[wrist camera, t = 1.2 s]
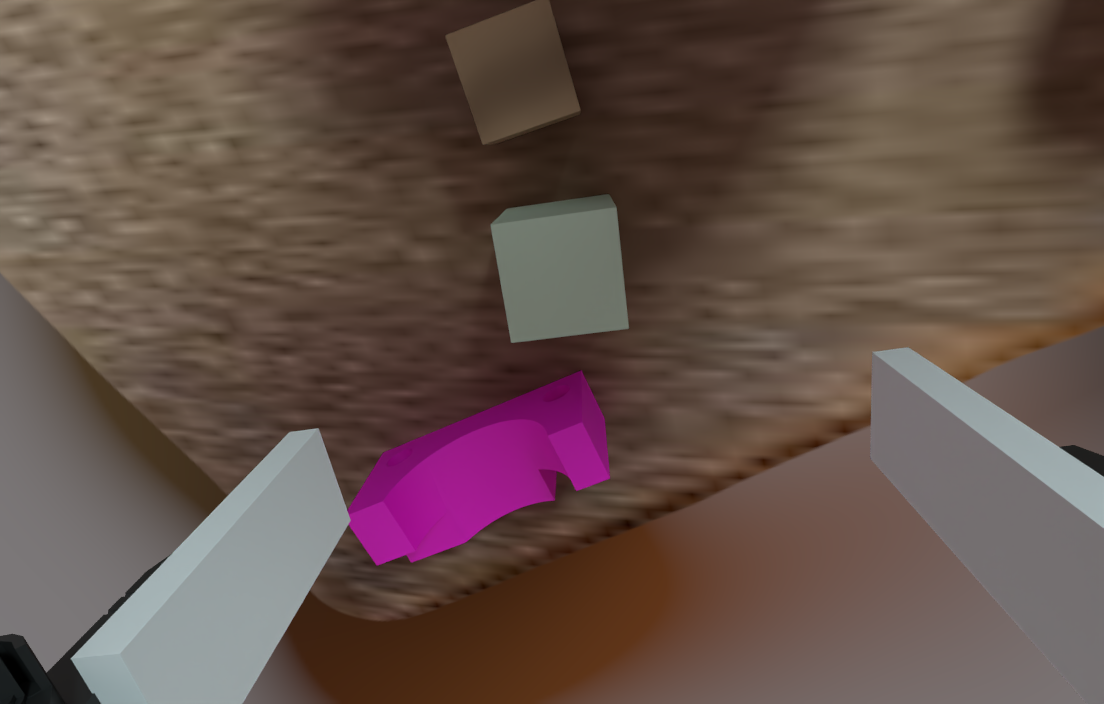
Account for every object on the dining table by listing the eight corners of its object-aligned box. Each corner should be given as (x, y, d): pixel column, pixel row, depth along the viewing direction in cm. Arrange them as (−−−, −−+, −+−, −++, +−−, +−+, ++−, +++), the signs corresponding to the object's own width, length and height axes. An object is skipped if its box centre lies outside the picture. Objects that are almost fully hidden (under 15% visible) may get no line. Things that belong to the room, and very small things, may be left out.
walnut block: (464, 50, 32) (444, 35, 27) (552, 17, 31) (547, -5, 26) (496, 144, 33) (482, 145, 28) (580, 114, 32) (580, 110, 28)
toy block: (427, 520, 42) (397, 596, 35) (384, 451, 41) (343, 516, 33) (618, 447, 40) (627, 513, 33) (581, 368, 38) (582, 421, 31)
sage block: (507, 208, 34) (490, 224, 28) (608, 194, 34) (616, 207, 27) (523, 306, 36) (511, 342, 30) (619, 293, 36) (628, 328, 29)
